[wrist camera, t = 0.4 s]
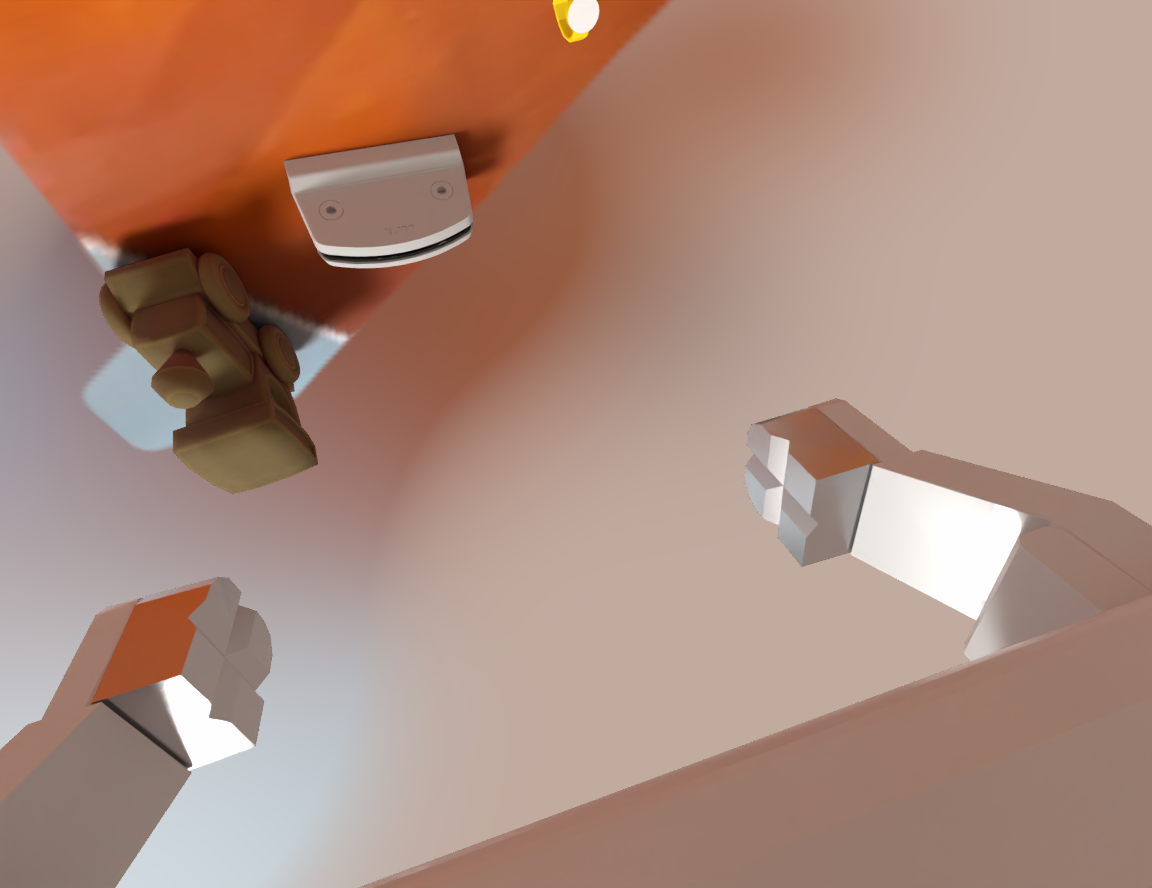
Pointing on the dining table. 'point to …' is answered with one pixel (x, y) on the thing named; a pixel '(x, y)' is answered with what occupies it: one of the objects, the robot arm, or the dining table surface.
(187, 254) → the wooden toy train
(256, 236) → the dining table surface
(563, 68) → the dining table surface
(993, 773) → the robot arm
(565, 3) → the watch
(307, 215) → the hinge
